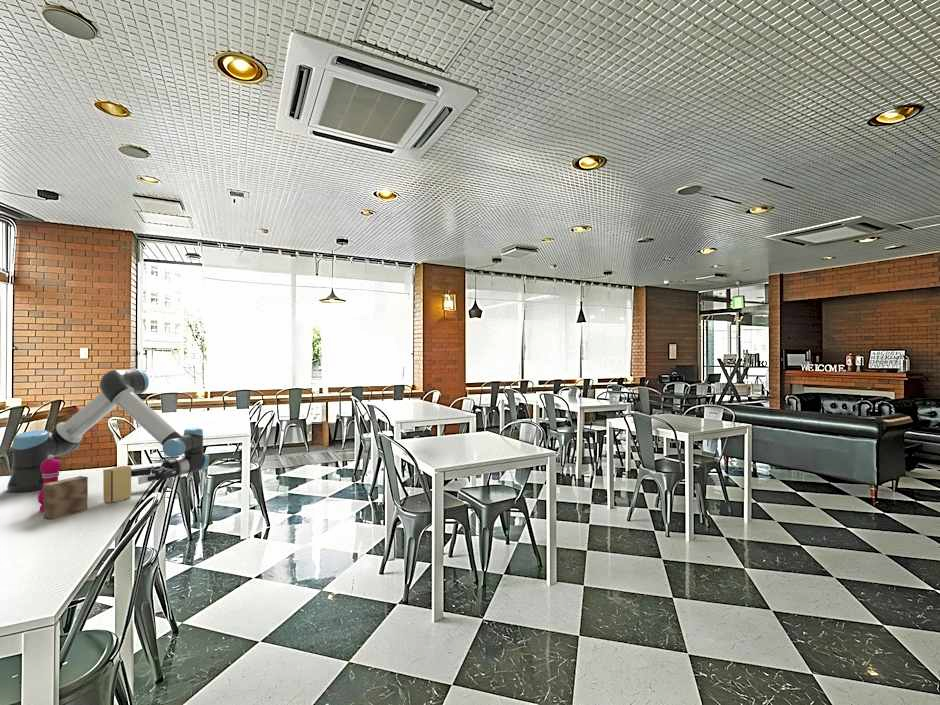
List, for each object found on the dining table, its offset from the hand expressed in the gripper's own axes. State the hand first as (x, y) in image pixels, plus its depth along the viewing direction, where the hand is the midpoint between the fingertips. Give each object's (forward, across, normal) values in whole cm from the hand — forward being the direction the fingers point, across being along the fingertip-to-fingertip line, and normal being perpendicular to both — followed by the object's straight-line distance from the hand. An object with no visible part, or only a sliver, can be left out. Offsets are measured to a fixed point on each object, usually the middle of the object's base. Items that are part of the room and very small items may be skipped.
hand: (126, 479), depth 203 cm
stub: (+4, 0, -7) cm, 8 cm away
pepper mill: (+20, +11, -7) cm, 24 cm away
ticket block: (+22, 0, -7) cm, 23 cm away
